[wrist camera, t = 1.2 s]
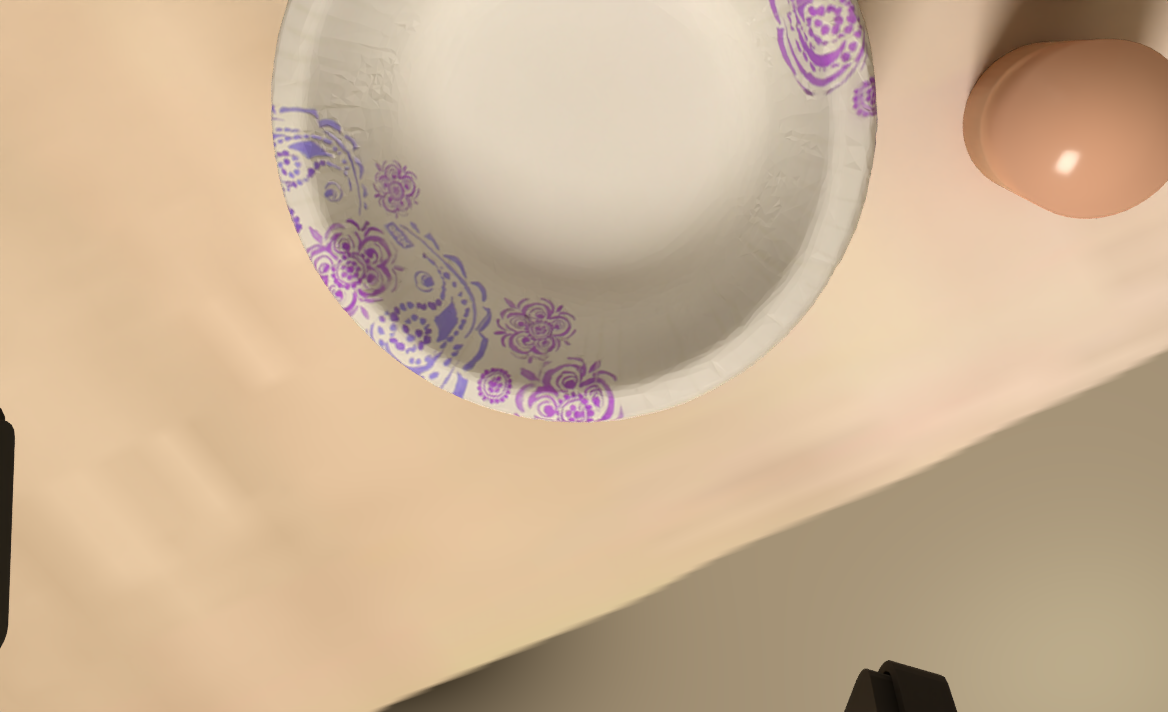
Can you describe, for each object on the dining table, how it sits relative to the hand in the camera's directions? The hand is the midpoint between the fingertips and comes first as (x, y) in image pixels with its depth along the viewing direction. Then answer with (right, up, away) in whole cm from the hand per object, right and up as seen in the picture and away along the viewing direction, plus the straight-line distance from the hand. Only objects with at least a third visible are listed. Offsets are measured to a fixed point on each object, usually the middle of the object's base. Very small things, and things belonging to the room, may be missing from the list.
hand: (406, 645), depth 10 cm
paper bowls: (+2, +11, +21) cm, 24 cm away
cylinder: (+16, +10, +19) cm, 26 cm away
